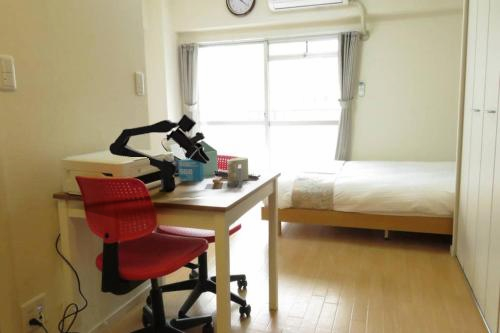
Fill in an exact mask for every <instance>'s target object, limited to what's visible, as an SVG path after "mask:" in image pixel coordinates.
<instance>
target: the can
mask: <svg viewBox="0 0 500 333" xmlns="http://www.w3.org/2000/svg"><path fill="white" fill-rule="evenodd" d="M229 160H236V175H237V181H238V164H242V182H243V181H248V180H249V158H248V157H232V158H230V159H229Z"/></svg>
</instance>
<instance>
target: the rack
mask: <svg viewBox="0 0 500 333" xmlns="http://www.w3.org/2000/svg"><path fill="white" fill-rule="evenodd" d="M213 184H214V183H207V184H206V186H205V187H204V190H215V189H221V190H222V189H239V188H240V189H242V188H244V187H243V186H244V182H243V181H242V164H238V181H237V183H228V182H223V185H222V188H213Z"/></svg>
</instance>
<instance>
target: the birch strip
mask: <svg viewBox="0 0 500 333" xmlns="http://www.w3.org/2000/svg"><path fill="white" fill-rule="evenodd" d="M226 165H227V166H226V167H227V168H226V170H227V183H237V175H236V160H230V159H227V160H226Z"/></svg>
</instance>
